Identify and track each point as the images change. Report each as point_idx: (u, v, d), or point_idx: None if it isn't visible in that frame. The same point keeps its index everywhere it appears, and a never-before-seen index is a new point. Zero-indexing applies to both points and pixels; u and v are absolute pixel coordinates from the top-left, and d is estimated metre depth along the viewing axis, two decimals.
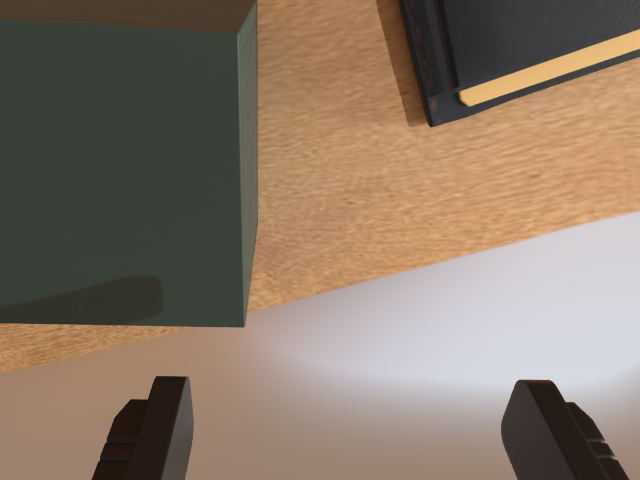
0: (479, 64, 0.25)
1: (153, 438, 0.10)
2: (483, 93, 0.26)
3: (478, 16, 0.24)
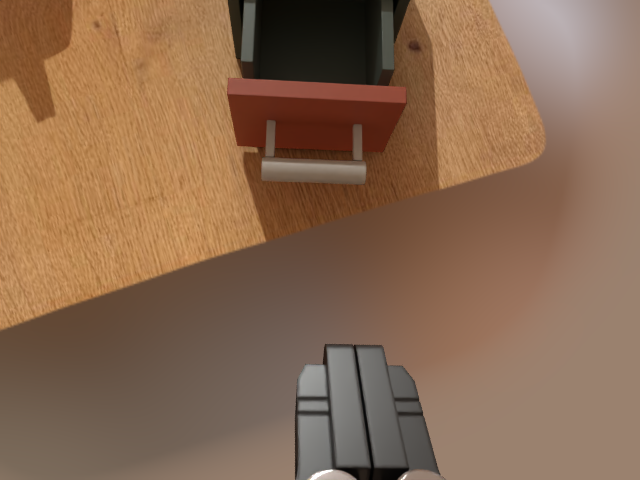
0: None
1: (345, 394, 0.11)
2: None
3: None
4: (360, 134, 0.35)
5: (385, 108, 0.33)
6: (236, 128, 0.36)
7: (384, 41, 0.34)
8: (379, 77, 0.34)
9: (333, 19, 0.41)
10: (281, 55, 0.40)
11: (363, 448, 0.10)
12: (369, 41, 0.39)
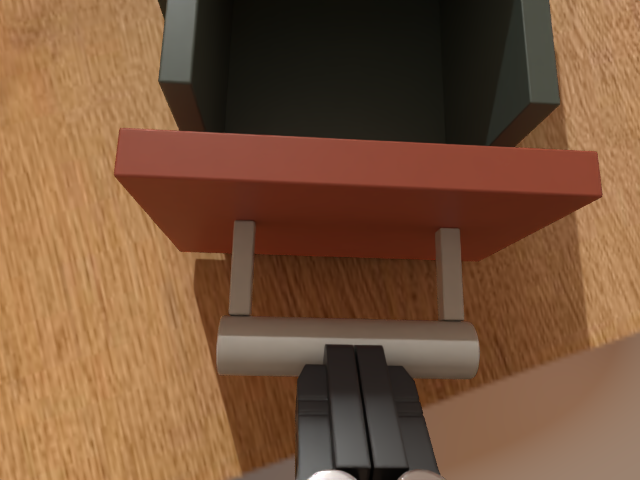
0: None
1: (345, 395, 0.11)
2: None
3: None
4: (457, 253, 0.15)
5: (537, 205, 0.13)
6: (167, 230, 0.16)
7: (530, 30, 0.13)
8: (510, 120, 0.14)
9: None
10: (273, 62, 0.20)
11: (363, 448, 0.10)
12: (457, 34, 0.19)
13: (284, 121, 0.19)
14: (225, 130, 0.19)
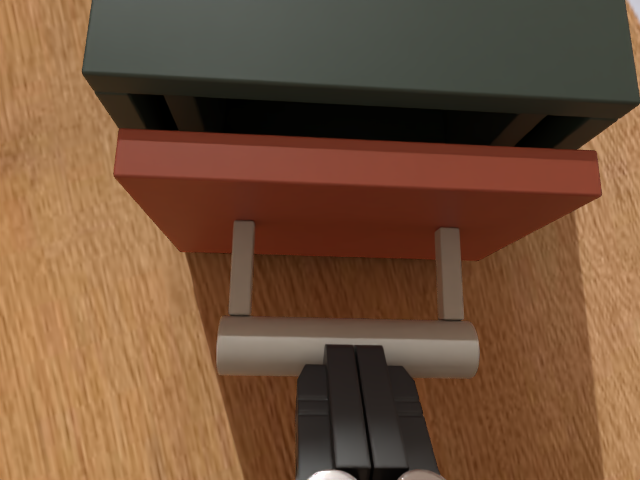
0: None
1: (345, 394, 0.11)
2: None
3: None
4: (457, 253, 0.15)
5: (536, 204, 0.13)
6: (166, 230, 0.16)
7: None
8: (510, 119, 0.14)
9: None
10: None
11: (363, 448, 0.10)
12: None
13: (283, 121, 0.19)
14: (224, 130, 0.19)
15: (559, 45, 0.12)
